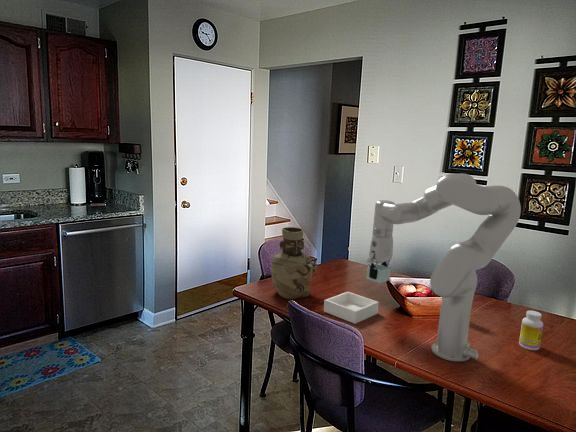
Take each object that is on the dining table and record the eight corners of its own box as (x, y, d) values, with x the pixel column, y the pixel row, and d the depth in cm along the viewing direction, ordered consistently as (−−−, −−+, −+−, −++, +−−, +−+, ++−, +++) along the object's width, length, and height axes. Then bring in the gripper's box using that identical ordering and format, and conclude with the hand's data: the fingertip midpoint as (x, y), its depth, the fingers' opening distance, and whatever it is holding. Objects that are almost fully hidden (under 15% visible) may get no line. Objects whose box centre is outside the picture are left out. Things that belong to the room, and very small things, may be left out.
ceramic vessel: (314, 302, 190) (318, 236, 185) (267, 298, 192) (269, 232, 187) (316, 288, 209) (319, 227, 204) (273, 284, 211) (275, 224, 206)
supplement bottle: (539, 352, 152) (544, 318, 150) (518, 347, 155) (522, 313, 153) (540, 345, 158) (545, 312, 155) (519, 340, 161) (524, 307, 159)
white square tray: (377, 313, 181) (378, 302, 180) (354, 323, 170) (355, 311, 169) (347, 302, 192) (347, 291, 191) (323, 311, 181) (324, 300, 180)
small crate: (389, 279, 172) (390, 267, 171) (380, 283, 167) (381, 270, 166) (375, 275, 176) (376, 263, 175) (366, 278, 171) (367, 266, 170)
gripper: (378, 237, 159) (373, 283, 163) (402, 231, 171) (398, 274, 175) (361, 233, 164) (357, 278, 168) (386, 227, 176) (382, 269, 180)
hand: (378, 276), depth 171 cm, fingers closed on small crate, 6 cm apart
